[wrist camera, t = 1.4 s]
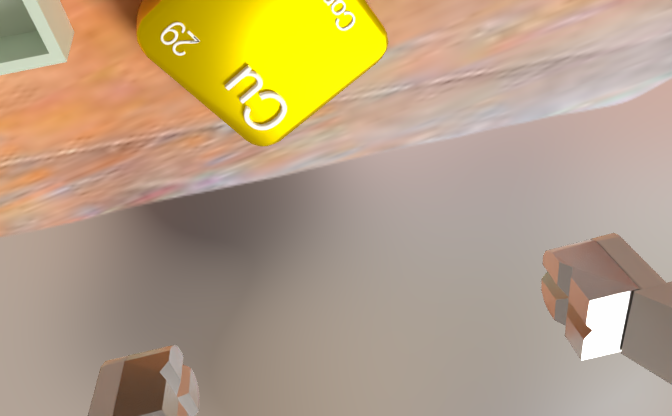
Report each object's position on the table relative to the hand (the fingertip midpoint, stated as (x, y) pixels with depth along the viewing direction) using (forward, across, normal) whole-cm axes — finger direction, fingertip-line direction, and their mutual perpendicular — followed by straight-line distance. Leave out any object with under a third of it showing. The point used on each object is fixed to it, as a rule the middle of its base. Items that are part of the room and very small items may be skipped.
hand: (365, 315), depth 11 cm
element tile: (+37, +2, +3) cm, 37 cm away
